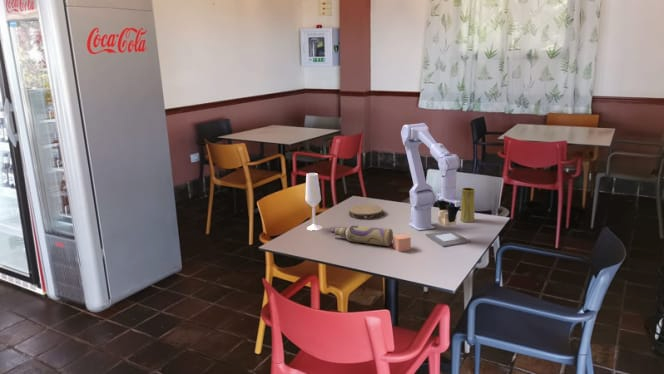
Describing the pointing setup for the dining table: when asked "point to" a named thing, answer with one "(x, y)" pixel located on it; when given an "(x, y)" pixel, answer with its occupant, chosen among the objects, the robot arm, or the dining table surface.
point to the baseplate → (447, 238)
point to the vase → (467, 205)
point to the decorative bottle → (366, 234)
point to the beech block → (444, 218)
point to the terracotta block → (401, 242)
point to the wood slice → (366, 211)
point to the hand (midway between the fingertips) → (447, 219)
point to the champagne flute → (313, 196)
